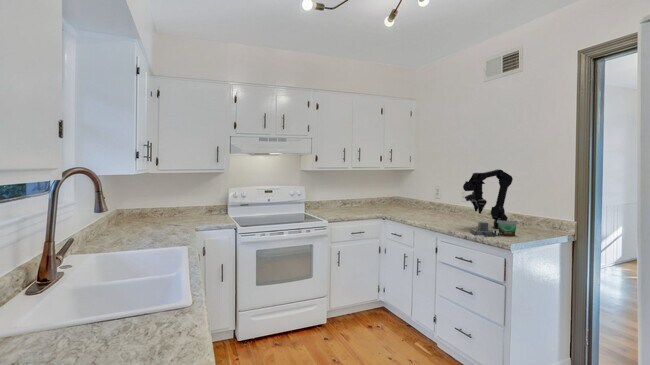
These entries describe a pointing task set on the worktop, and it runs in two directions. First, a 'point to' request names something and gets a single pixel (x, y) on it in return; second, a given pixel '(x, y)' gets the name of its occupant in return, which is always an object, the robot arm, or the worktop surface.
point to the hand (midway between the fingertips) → (477, 212)
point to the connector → (482, 226)
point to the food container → (507, 227)
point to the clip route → (491, 235)
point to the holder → (488, 232)
